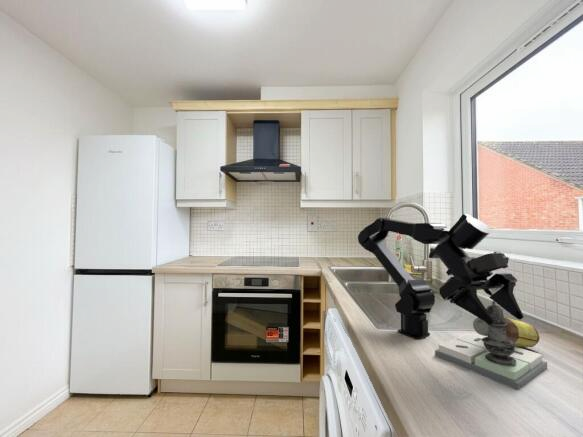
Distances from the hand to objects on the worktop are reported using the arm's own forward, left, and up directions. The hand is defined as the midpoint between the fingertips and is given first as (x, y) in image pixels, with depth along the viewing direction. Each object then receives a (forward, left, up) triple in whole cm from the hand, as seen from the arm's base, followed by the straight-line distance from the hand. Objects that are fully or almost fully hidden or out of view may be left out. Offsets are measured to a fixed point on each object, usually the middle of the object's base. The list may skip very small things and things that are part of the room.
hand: (507, 321), depth 55 cm
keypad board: (-5, +4, -11) cm, 13 cm away
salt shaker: (-1, 0, -9) cm, 9 cm away
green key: (-1, 0, -12) cm, 12 cm away
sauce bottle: (-4, +22, -9) cm, 25 cm away
